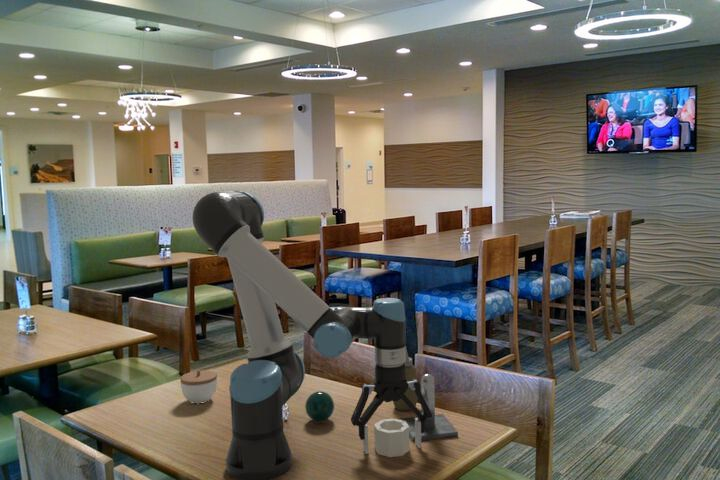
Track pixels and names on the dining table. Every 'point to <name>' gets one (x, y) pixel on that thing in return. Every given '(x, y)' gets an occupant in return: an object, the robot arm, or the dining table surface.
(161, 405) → the dining table surface
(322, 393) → the sphere
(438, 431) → the post
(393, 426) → the ring
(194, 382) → the lidded jar
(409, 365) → the squeeze bottle
